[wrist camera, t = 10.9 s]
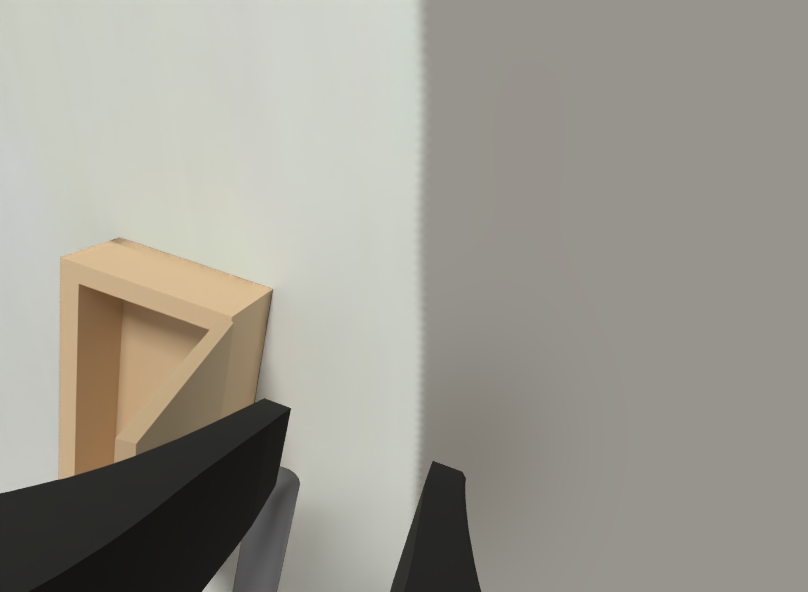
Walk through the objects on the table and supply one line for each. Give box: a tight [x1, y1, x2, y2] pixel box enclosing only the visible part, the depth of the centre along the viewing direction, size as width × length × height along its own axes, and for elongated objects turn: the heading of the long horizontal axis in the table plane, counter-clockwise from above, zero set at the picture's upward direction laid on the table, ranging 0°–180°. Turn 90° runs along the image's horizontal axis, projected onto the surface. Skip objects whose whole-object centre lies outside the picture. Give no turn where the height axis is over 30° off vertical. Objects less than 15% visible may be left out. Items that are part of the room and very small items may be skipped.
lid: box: [114, 319, 300, 592], centre depth 19 cm, size 7×13×4 cm
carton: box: [58, 238, 273, 480], centre depth 24 cm, size 7×13×3 cm, turn 166°
